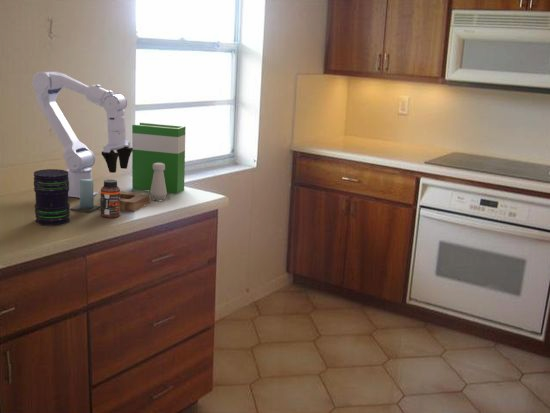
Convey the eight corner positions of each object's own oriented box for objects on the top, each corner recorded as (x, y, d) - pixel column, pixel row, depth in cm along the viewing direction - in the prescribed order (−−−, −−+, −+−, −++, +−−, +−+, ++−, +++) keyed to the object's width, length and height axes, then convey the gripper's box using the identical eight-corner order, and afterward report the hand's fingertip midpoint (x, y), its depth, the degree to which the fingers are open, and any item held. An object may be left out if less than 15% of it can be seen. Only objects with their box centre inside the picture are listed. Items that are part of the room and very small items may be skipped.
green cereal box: (132, 189, 229) (132, 124, 223) (140, 185, 236) (140, 122, 230) (177, 194, 226) (178, 128, 220) (184, 189, 233) (185, 126, 227)
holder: (100, 207, 203) (100, 198, 202) (117, 199, 214) (117, 190, 213) (133, 211, 200) (133, 202, 199) (149, 203, 211) (149, 194, 211)
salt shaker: (163, 202, 214) (163, 165, 210) (147, 200, 215) (147, 163, 211) (169, 198, 219) (169, 162, 216) (154, 196, 220) (154, 160, 217)
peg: (78, 208, 197) (77, 181, 195) (82, 205, 201) (82, 178, 199) (91, 209, 197) (90, 182, 195) (95, 206, 201) (95, 179, 199)
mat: (70, 210, 197) (70, 208, 197) (81, 205, 204) (81, 203, 204) (89, 213, 196) (89, 211, 195) (101, 207, 202) (100, 206, 202)
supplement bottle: (110, 219, 190) (109, 183, 187) (96, 215, 193) (96, 180, 190) (124, 215, 195) (124, 180, 192) (110, 212, 198) (110, 177, 195)
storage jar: (36, 227, 179) (33, 176, 175) (34, 217, 187) (32, 169, 183) (72, 224, 183) (70, 175, 179) (68, 215, 191) (67, 168, 187)
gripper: (116, 133, 199) (118, 175, 203) (137, 128, 213) (138, 167, 216) (96, 132, 201) (99, 173, 204) (119, 127, 215) (120, 166, 218)
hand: (118, 170), depth 210 cm, fingers open, 7 cm apart
